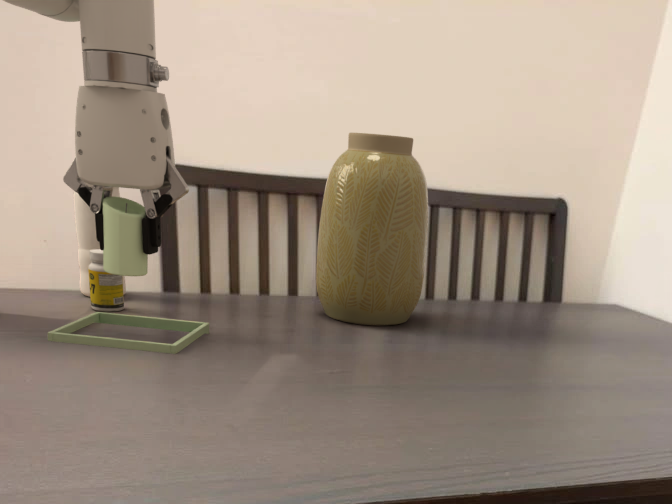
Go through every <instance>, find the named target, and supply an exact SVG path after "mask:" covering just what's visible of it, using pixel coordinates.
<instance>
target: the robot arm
mask: <svg viewBox="0 0 672 504" xmlns="http://www.w3.org/2000/svg"><path fill="white" fill-rule="evenodd" d="M2 1H3V2H5V3H7V4H9V5H13V6H15V7H19V8H22V9H25V10H28V11H30V12H34V13H36V14H38V15H41V16H43V17H46V18H50V19H53V20H55V21H60V22H65V23H75V22H79V27H80V29H79V30H80V40H81V42H80V43H81V54H82V55H81V56H82V71H83V81H84V82H83V83H84V85H78V91H77V97H76V106H75V119H74V120H75V121H74V123H75V124H74V145H75V147H74V151H75V158H74V159H73V161H72V162H71V164H70V166H69V167H68V169H67V171H66V172H65V174H64V176H63V178H62V180H63V182H64V184H65V185H66V186H68V187H69V188H70V189H71V190H72V191H73V192H74V191H75V192H77V193H78V194H79V196H80V197H81V198H82V199H83V200H84V201H85V203H86V204H87V205H88V206H89V207H90V210H91V212H92V213H95V224H96V238H97V241H98V242H100V249H101V250H104V234H103V199H104V198H106V197H112V191H113V187H119V188H121V189H133V190H139V192H140V195H141V199H142V203H143V206H144V207H145V211H146V212H145V218H143V219H142V239H143V253H145V254H148V255H153V254H156V253H158V252H159V248H160V247H161V246H162V218H163V217H164V215H165V213H166V212H167V211H168V210H169V209H170V208H171V207H172V206H173V205H174V204H175V203H176V202H177V201H179V200H180V199H182V198H183V197H185V196H186V195H187V194H188V193H189V192H190V188H189V186H188V184H187V183H186V181H185V179H184V178H183V176H182V175H181V173H180V172H179V170H178V169H177V167H176V163H175V162H176V161H175V160H176V159H175V149H174V141H173V140H174V139H173V132H172V124H171V120H170V118H171V117H170V112H169V107H168V102H167V98H166V94H165V93H161V92H158V88H159V87H160V85H159V84H160V83H162V82H165V81H167V82H168V81H169V79H170V69H169V67H168V66H162V65H161V64H159V60H157V51H156V49H157V47H156V24H155V23H156V22H155V0H2ZM86 183H88V184H91V185H93V188H91V187H89V186H88V185H86ZM169 188H170V189H169ZM163 189H168V190H167V191H166V192H165V193H164V194H162V195H161V192H160V190H163Z"/></svg>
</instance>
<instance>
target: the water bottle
mask: <svg viewBox="0 0 672 504" xmlns="http://www.w3.org/2000/svg"><path fill="white" fill-rule="evenodd" d="M86 185H88V186H89V187H91V188H93V185H91V184H88V183H86ZM112 197H121V195H120V187H113V191H112ZM73 212H74V213H73V214H74V226H75V235H76V241H77V246H78V249H77V262H78V263H77V264H78V268H79V290H80V293H81V294H82V295H83V296H86V297H89V298H90V285H89V272H88V267H89V265H90V264H91V263H92V261H90V250H94V249H100V242H98V241H97V238H96V224H95V213H92V212H91V210H90V207H89V206H88V205H87V204H86V203H85V201H84V200H83V199H82V198H81V197H80V196H79V194H78V193H77V192H75V191H74V190H73ZM125 277H126V276H122V278H123V296H124V295H125V294H126V291H127V285H126V278H125Z"/></svg>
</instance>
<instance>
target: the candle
mask: <svg viewBox="0 0 672 504" xmlns="http://www.w3.org/2000/svg"><path fill="white" fill-rule="evenodd" d="M145 212H146V211H145V207H144V205H142V204H141V203H139V202H137V201H134V200H133V199H130V198H125V197H122V196H120V197H106V198H104V199H103V234H104V250H103V269H104V271H105V272H107V273H110V274H114V275H121V276H125V277H144V276H147V274H148V270H149V269H148V268H149V267H148V265H149V263H148V261H149V259H148V258H149V256H148V255H149V254H145V253H143V239H142V219H143V218H145Z"/></svg>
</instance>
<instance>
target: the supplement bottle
mask: <svg viewBox="0 0 672 504" xmlns="http://www.w3.org/2000/svg"><path fill="white" fill-rule="evenodd" d="M90 261H92V263H91V264H90V265H89V267H88V272H89V285H90V297H89V298H90V307H91V309H92V310H94V311H95V312H105V313H115V312H121V311H123V310H124V309H125V299H124V298H125V297H124V295H123V278H122V276H121V275H114V274H110V273H107V272H105V271H104V269H103V250H101V249H94V250H90Z"/></svg>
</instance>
